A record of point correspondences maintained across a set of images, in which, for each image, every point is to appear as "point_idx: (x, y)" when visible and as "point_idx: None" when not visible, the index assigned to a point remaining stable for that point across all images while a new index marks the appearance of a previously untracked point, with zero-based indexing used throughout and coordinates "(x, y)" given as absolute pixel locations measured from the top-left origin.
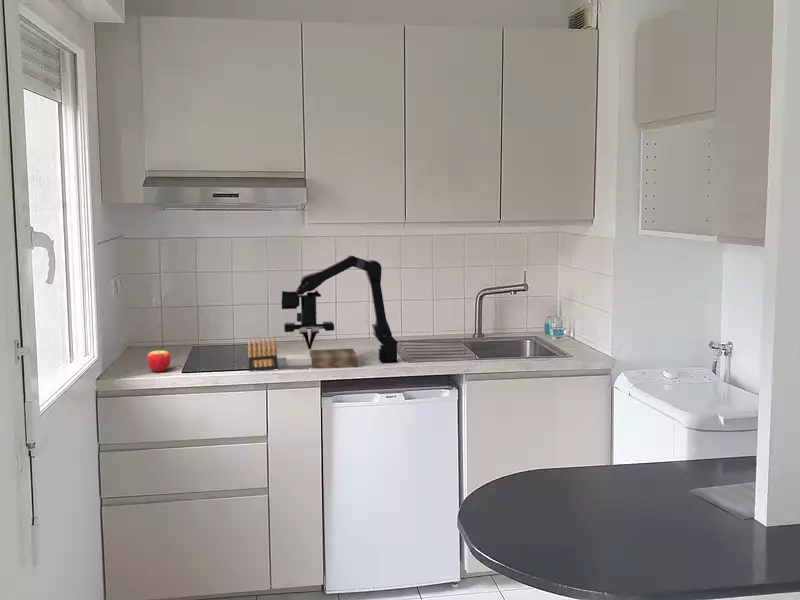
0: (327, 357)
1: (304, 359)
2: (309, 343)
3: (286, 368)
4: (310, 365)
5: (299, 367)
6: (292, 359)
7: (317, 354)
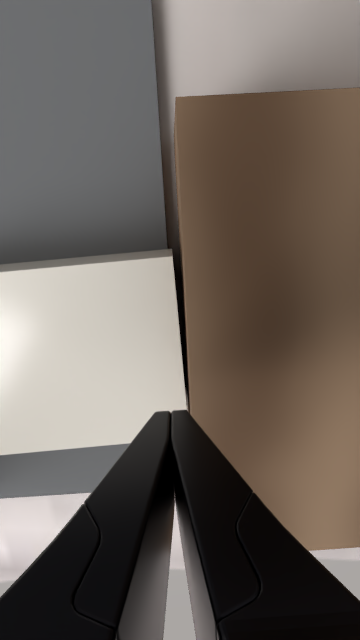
0: (335, 544)
1: (122, 438)
2: (174, 459)
3: (2, 493)
4: None
5: (95, 474)
6: (7, 453)
7: (259, 415)
